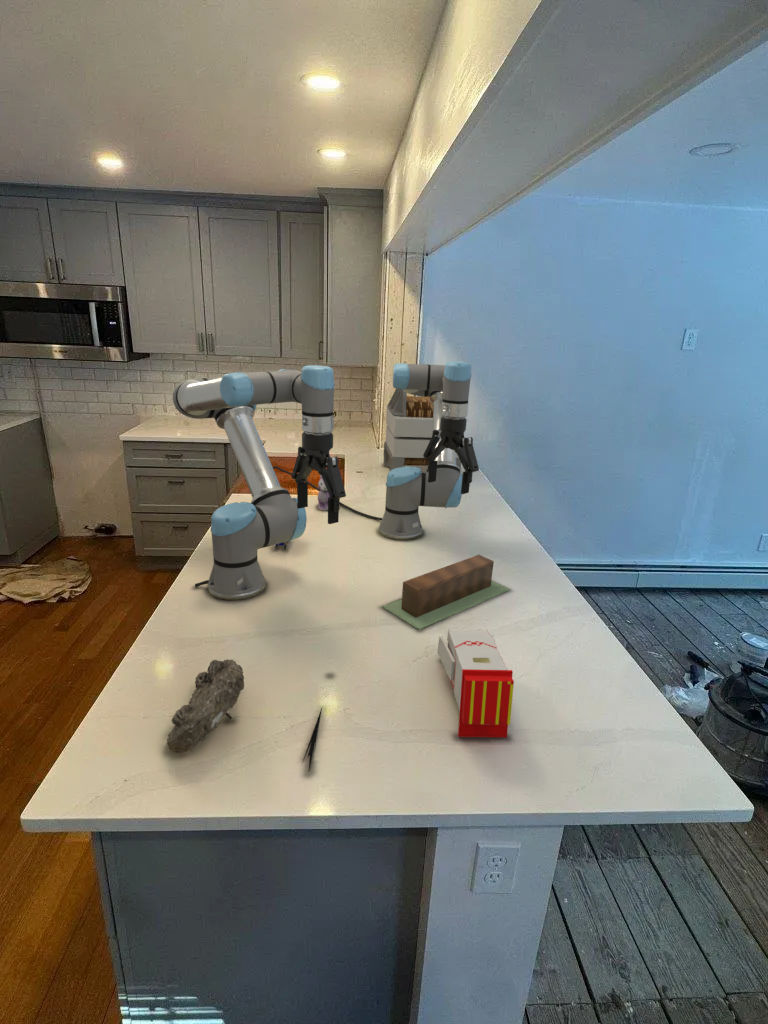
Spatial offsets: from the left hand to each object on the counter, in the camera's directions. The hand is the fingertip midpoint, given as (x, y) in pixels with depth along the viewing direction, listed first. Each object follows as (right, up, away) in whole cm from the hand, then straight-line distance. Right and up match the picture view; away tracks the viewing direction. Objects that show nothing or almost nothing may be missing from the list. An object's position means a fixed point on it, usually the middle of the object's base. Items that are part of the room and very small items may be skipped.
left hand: (317, 514), depth 144 cm
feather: (+5, -39, -35) cm, 53 cm away
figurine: (-5, +3, +79) cm, 80 cm away
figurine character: (-17, -10, +44) cm, 48 cm away
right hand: (+36, +8, +27) cm, 46 cm away
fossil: (-16, -38, -36) cm, 55 cm away
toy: (+35, -37, -25) cm, 57 cm away
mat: (+35, -23, +13) cm, 44 cm away
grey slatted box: (+34, +20, +131) cm, 137 cm away
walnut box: (+35, -23, +13) cm, 43 cm away
